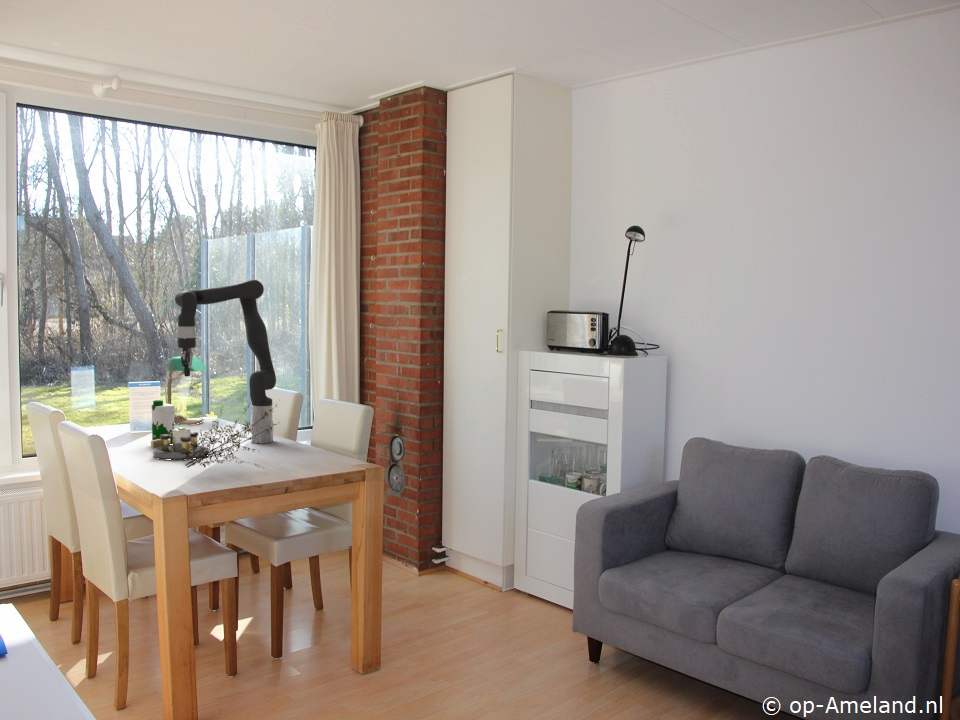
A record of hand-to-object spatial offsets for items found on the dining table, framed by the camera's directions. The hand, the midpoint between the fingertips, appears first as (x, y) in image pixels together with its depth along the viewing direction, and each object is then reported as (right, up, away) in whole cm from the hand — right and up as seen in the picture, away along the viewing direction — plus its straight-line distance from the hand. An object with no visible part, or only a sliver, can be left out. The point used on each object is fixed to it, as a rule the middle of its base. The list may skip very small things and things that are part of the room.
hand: (187, 376), depth 351 cm
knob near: (+4, -30, -5) cm, 31 cm away
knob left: (+8, -31, -21) cm, 39 cm away
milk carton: (-14, -31, +8) cm, 35 cm away
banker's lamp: (-27, -26, +67) cm, 77 cm away
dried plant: (+32, -36, -36) cm, 60 cm away
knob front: (-5, -31, -17) cm, 35 cm away
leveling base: (+3, -33, -13) cm, 36 cm away
